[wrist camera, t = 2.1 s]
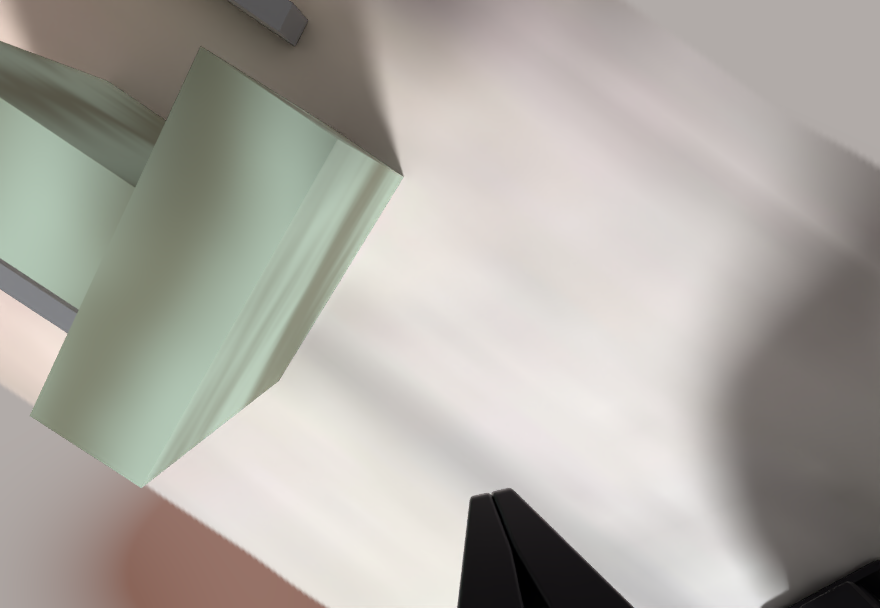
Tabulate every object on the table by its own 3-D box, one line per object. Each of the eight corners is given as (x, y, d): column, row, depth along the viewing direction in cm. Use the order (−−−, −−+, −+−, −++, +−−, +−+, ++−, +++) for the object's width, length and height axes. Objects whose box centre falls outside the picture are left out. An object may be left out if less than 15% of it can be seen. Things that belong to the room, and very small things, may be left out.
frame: (308, 20, 18) (292, 3, 17) (137, 354, 22) (113, 363, 21) (-44, -222, 18) (-90, -261, 16) (-155, 162, 22) (-201, 157, 20)
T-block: (403, 176, 19) (337, 139, 10) (278, 380, 22) (141, 488, 13) (142, -2, 19) (-154, -195, 10) (45, 226, 21) (-257, 230, 13)
